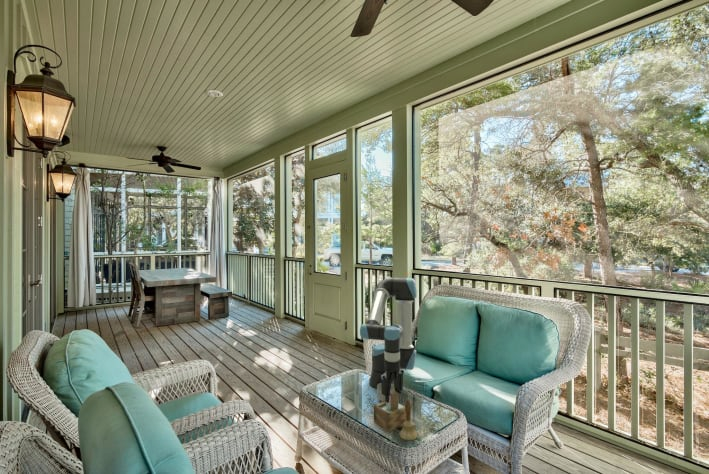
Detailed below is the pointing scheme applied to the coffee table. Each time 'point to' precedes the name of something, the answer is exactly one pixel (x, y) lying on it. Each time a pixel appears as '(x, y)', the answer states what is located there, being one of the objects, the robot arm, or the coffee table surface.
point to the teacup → (379, 392)
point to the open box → (389, 417)
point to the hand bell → (408, 425)
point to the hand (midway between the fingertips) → (392, 406)
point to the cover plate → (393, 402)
